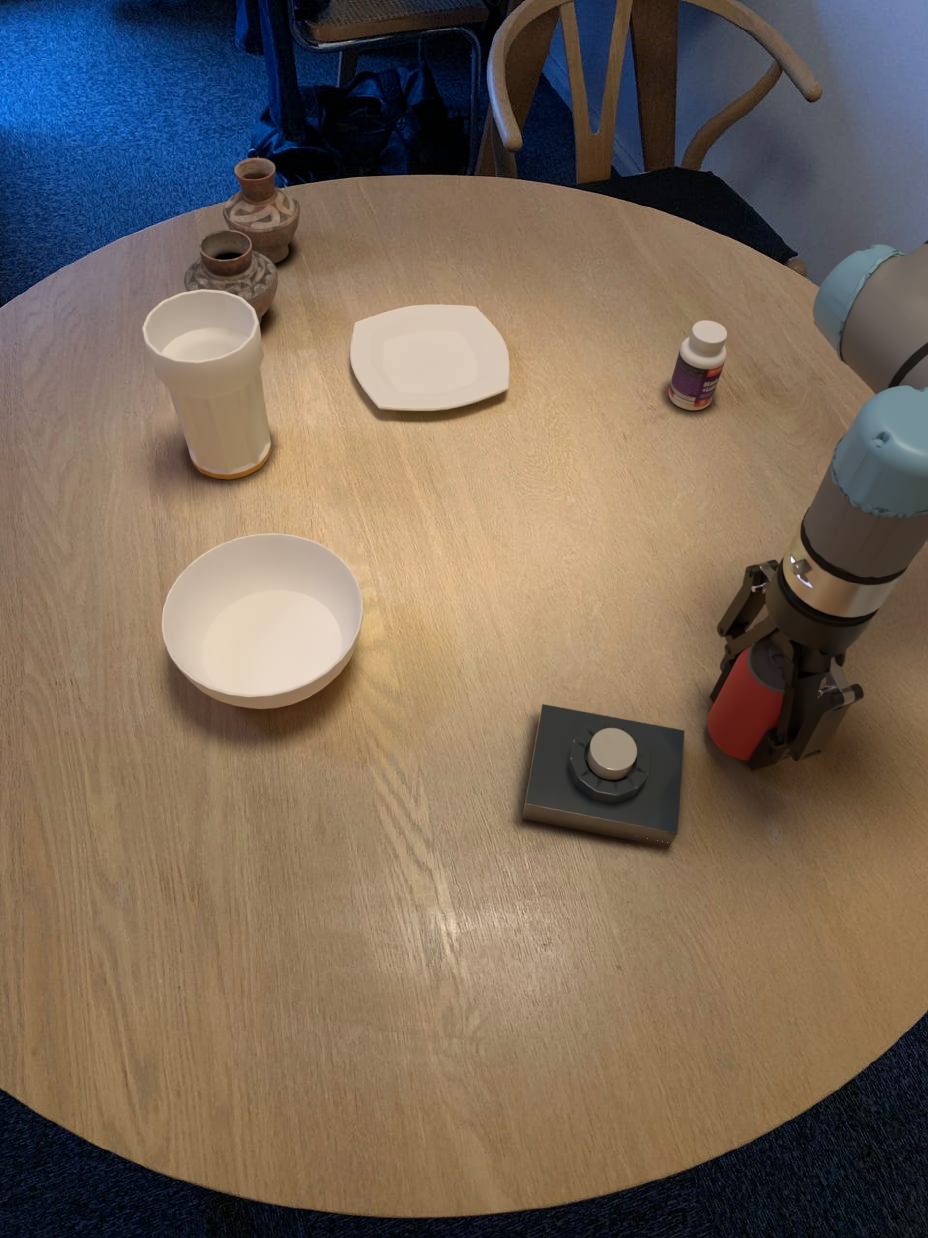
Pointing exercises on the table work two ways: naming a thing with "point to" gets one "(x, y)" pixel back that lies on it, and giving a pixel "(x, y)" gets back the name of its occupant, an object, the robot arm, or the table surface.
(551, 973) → the table surface
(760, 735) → the beer can
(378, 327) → the plate
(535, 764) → the beige button cap base
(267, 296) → the pottery
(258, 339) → the cup
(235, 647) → the bowl
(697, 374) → the pill bottle
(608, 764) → the beige button cap
